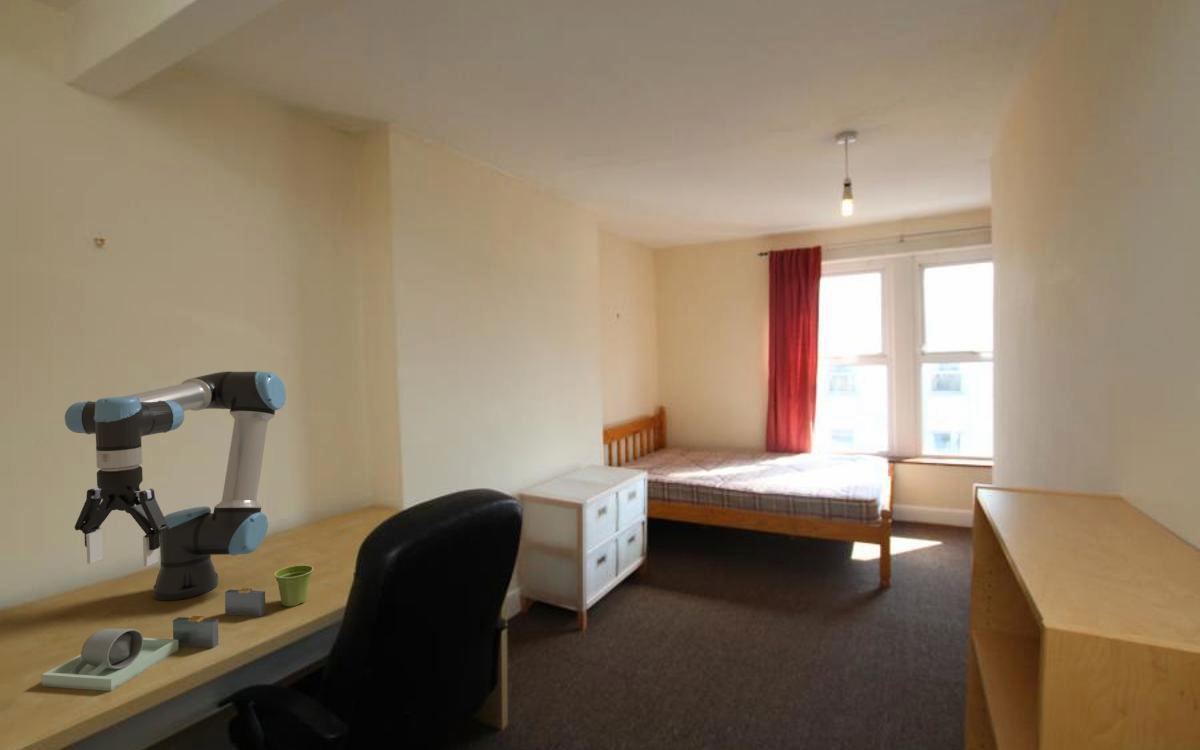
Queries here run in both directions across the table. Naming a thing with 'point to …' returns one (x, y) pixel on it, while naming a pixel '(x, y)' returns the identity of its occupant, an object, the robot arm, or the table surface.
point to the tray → (108, 677)
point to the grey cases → (206, 630)
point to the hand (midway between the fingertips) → (122, 562)
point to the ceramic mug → (110, 650)
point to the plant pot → (293, 584)
